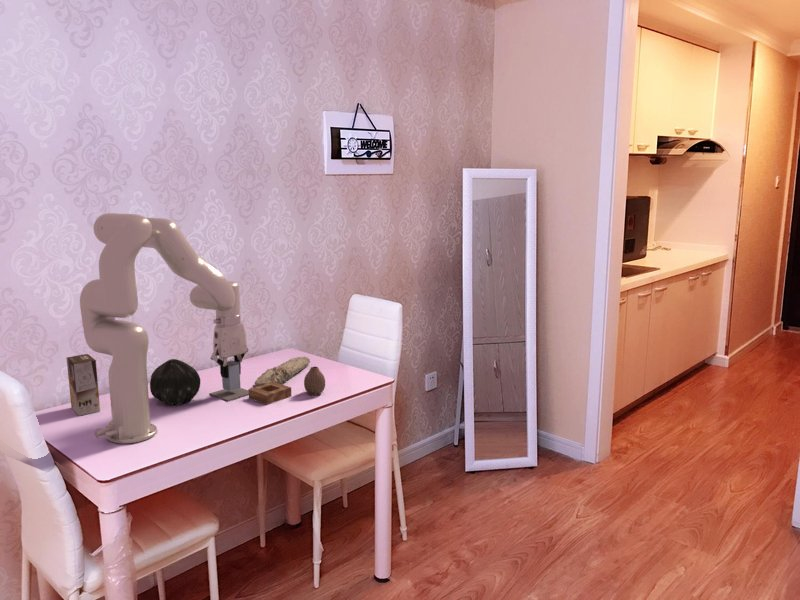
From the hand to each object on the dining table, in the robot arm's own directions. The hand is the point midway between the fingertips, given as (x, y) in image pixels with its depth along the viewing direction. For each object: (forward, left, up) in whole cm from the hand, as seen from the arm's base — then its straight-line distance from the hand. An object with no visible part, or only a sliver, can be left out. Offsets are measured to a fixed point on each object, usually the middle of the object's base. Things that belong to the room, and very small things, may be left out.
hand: (230, 375), depth 209 cm
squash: (-15, +8, -7) cm, 18 cm away
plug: (0, 0, -4) cm, 4 cm away
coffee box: (-37, +22, -7) cm, 44 cm away
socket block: (+6, -12, -6) cm, 15 cm away
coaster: (0, 0, -6) cm, 6 cm away
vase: (+18, -20, -7) cm, 28 cm away
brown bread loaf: (+24, +2, -7) cm, 25 cm away
